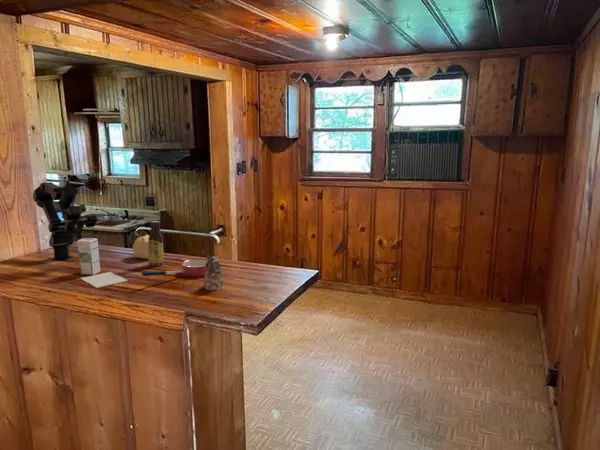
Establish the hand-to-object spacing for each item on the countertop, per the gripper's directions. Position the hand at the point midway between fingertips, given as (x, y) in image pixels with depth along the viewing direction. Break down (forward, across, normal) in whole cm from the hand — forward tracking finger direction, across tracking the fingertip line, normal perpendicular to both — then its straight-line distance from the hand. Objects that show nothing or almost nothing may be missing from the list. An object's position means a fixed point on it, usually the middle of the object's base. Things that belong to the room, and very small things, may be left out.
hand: (80, 238), depth 183 cm
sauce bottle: (+21, +25, -2) cm, 33 cm away
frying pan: (+39, +22, -20) cm, 49 cm away
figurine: (+52, +25, -32) cm, 66 cm away
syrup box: (+15, 0, +4) cm, 16 cm away
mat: (+25, 0, -6) cm, 25 cm away
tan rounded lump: (+11, +29, +9) cm, 32 cm away
